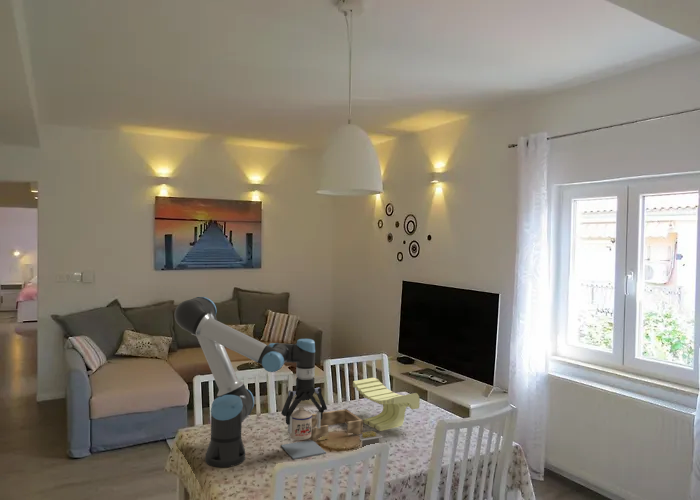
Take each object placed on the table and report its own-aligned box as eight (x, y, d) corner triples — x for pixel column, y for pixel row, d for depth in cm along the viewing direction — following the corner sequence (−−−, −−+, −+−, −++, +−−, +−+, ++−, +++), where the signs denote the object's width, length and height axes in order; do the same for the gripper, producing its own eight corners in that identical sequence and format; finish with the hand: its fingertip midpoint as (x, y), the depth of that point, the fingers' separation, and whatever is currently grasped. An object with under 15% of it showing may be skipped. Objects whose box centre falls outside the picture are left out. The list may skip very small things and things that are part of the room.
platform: (344, 445, 217) (344, 430, 217) (381, 439, 224) (381, 424, 224) (356, 456, 206) (357, 440, 206) (395, 450, 214) (395, 434, 213)
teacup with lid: (294, 441, 203) (294, 412, 203) (286, 433, 211) (287, 405, 211) (321, 437, 208) (322, 408, 208) (313, 429, 216) (314, 402, 216)
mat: (293, 459, 200) (293, 458, 200) (281, 446, 213) (281, 444, 213) (325, 453, 207) (325, 452, 207) (312, 441, 219) (312, 439, 219)
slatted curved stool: (418, 430, 236) (419, 391, 236) (392, 437, 226) (394, 397, 226) (377, 411, 260) (378, 376, 260) (352, 417, 250) (353, 381, 250)
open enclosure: (312, 442, 218) (313, 428, 218) (298, 429, 233) (298, 415, 232) (362, 433, 229) (363, 420, 229) (346, 421, 244) (346, 409, 244)
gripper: (280, 382, 200) (279, 437, 201) (335, 376, 211) (334, 428, 212) (274, 378, 207) (273, 430, 207) (328, 372, 218) (327, 422, 219)
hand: (304, 429), depth 210 cm, fingers closed on teacup with lid, 12 cm apart
